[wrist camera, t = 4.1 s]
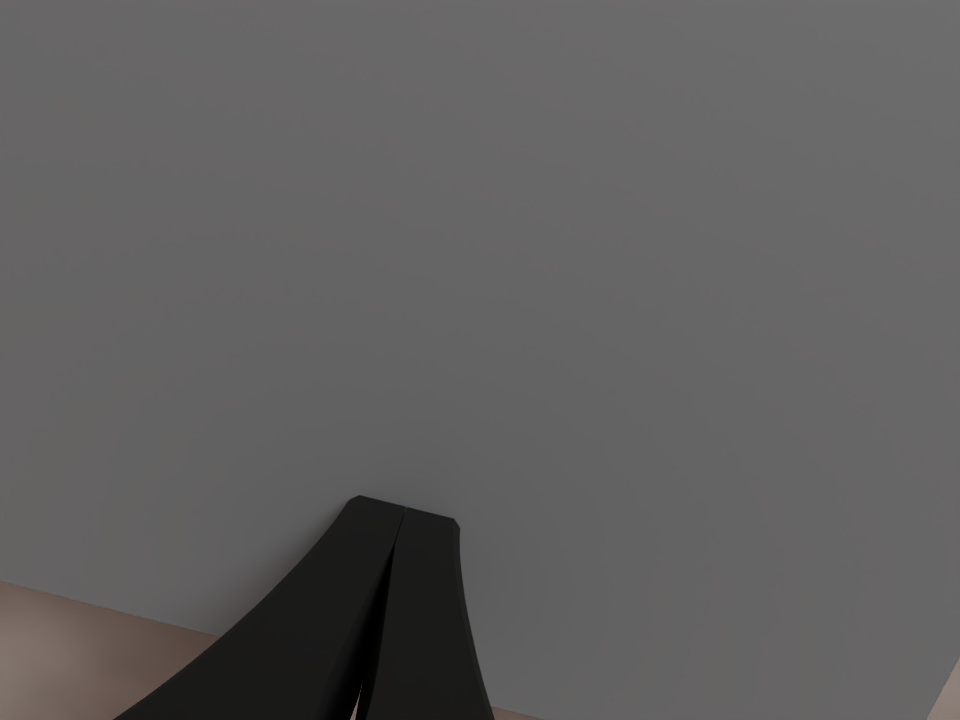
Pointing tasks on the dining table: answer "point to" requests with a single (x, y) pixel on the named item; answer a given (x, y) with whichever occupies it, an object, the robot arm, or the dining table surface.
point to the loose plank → (502, 327)
